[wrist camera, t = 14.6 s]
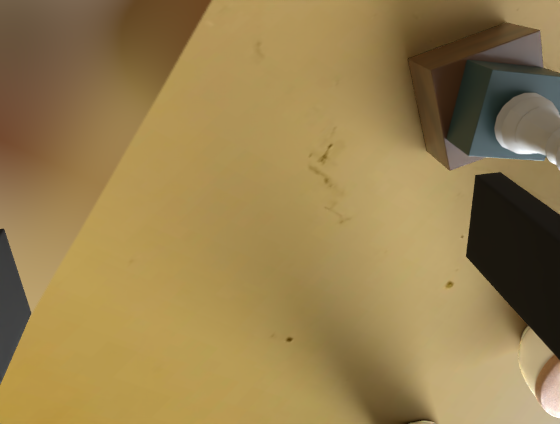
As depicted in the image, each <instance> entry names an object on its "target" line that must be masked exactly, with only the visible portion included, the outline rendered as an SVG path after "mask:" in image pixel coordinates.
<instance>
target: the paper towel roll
mask: <svg viewBox="0 0 560 424" xmlns="http://www.w3.org/2000/svg"><path fill="white" fill-rule="evenodd" d="M410 424H436V423H434V422H432V421H425V420H424V421H419V422H414V423H410Z"/></svg>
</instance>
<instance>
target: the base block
mask: <svg viewBox="0 0 560 424" xmlns="http://www.w3.org/2000/svg"><path fill="white" fill-rule="evenodd" d="M467 60H477V61H486V62H496V63H506V64H516V65H525V66H535V67H542V68H543V57H542V46H541V34H540V30H537V29H532V28H528V27H524V26H519V25H515V24H511V23H504V24H501V25H498V26H495V27H493V28H490V29H487V30H485V31H482V32H479V33H476V34H474V35H471V36H468V37H465V38H463V39H460V40H457V41H455V42H452V43H449V44H446V45H444V46H441V47H438V48H435V49H433V50H430V51H427V52H425V53H422V54H419V55H416V56H414V57H411V58H408V62H409V67H410V72H411V77H412V82H413V86H414V91H415V96H416V101H417V106H418V111H419V115H420V120H421V125H422V130H423V135H424V140H425V145H426V149H427V152H428V153H430V154H431V155H432V156H433V157H434V158H435V159H437V160H438V161H439V162H440V163H441V164H442V165H444V166H445V167H446V168H447V169H448V170H453V169H456V168H459V167H461V166H464V165H467V164H470V163H472V162H475V161H478V160H481V159H483V158H486V157H477V156H468V155H467V154H465V153H464V152H462V151H461V150H460V149H458V148H457V147H456V146H454V145H453V144H452V143H450V142H449V141H448V140H446V139H447V135H448V131H449V127H450V123H451V119H452V115H453V112H454V108H455V104H456V100H457V96H458V92H459V89H460V85H461V81H462V77H463V73H464V69H465V65H466V62H467Z"/></svg>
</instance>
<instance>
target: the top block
mask: <svg viewBox="0 0 560 424" xmlns="http://www.w3.org/2000/svg"><path fill="white" fill-rule="evenodd" d="M523 93H537V94H539V95H541V96H543V97H545V98H546V99H548V100H550V101H551V102H552V103H553V104H554V105H555V107H556V109H557V110H558V112H559V115H560V73H557V72H554V71H551V70H548V69H545V68H542V67H535V66H525V65H516V64H506V63H496V62H486V61H477V60H467V62H466V65H465V69H464V73H463V77H462V81H461V85H460V89H459V92H458V96H457V100H456V104H455V108H454V112H453V115H452V119H451V123H450V127H449V131H448V135H447V139H446V140H448V141H449V142H450V143H452V144H453V145H454V146H456V147H457V148H458V149H460V150H461V151H462V152H464V153H465V154H467V155H468V156H477V157H492V158H507V159H522V160H537V161H544V160H545V157H546V155H543V154H540V153H532V154H517V153H515V152H513V151H511V150H508V149H506V148H504V147H502V146H501V145H500V143H499V142H498V140H497V139H496V135H495V129H494V127H495V123H496V118H497V115H498V114H499V112H500V111H501V109H502V107H503V106H504V105H505V104H506V103H507V102H509V101H510V100H511V99H512V98H513V97H516V96H518V95H521V94H523Z"/></svg>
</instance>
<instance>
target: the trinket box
mask: <svg viewBox="0 0 560 424" xmlns="http://www.w3.org/2000/svg"><path fill="white" fill-rule="evenodd" d="M518 361H519V365H520V370H521V372H522V375H523V377H524V379H525V381H526V383H527V385H528V387H529V388H530V390H531V391H532V392H533V394H534V395H535V396H536V398H537V400H538V402H539V403H540V405H541V406H542V407H543V409H544V410H545V411H546V412H547V413H549V414H550V415H552V416H554V417H558V418H560V360H559V359H558V358H557V357H556V356H555V354H554V353H553V352H552V351H551V350H550V349H549V348H548V347H547V346H546V345H545V343H544V342H543V341H542V340H541V339H540V338H539V337H538V336H537V335H536V333H535V332H534V331H533V330H532V329H531V328H530V327H529V326H527V327H526V329H525V330H524V332H523V334H522V336H521V343H520V346H519V351H518Z"/></svg>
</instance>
